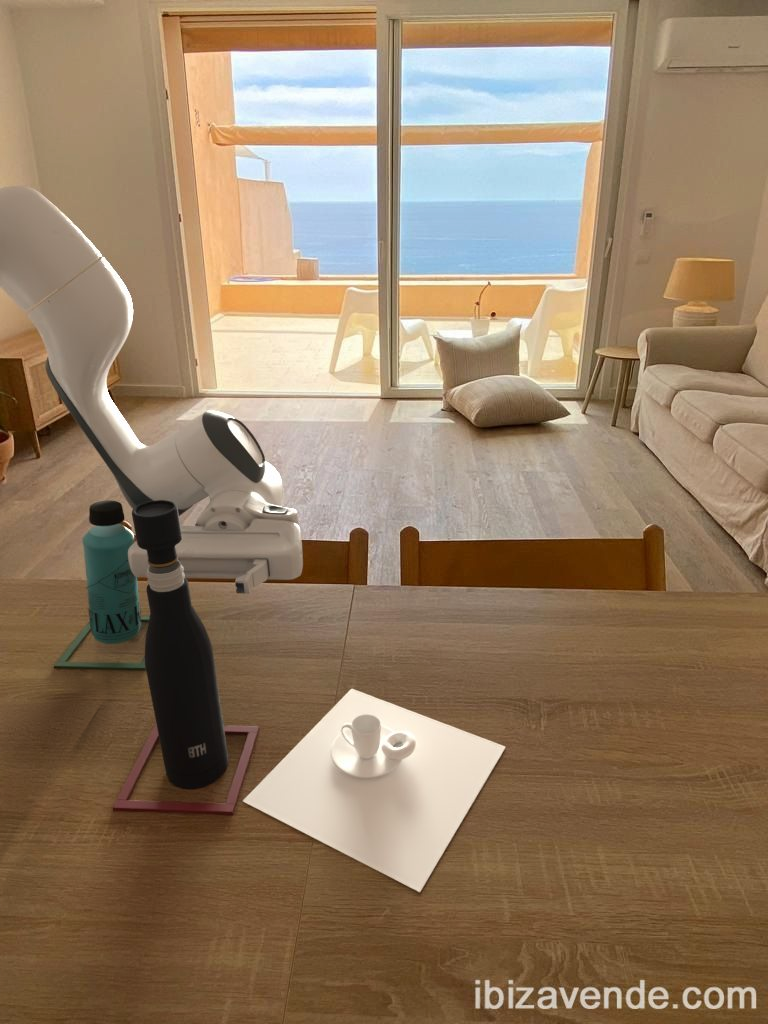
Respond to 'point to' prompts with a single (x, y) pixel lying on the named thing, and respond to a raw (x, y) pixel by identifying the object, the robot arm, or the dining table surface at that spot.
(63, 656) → the green square
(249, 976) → the dining table surface
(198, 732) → the insulated water bottle
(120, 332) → the robot arm
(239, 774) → the red square
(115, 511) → the beverage bottle
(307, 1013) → the dining table surface
